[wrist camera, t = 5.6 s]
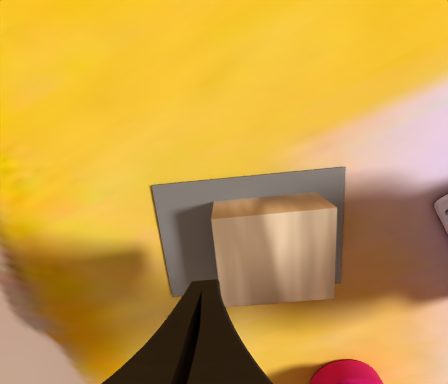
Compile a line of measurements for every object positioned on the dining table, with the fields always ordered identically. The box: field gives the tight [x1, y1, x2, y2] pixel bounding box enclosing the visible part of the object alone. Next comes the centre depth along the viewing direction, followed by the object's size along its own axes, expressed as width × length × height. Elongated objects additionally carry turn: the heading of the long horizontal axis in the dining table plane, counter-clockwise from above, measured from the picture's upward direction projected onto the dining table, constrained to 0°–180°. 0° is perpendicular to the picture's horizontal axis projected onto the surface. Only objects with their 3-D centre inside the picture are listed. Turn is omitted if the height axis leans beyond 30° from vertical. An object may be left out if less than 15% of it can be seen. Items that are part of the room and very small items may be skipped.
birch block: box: [211, 192, 337, 307], centre depth 16 cm, size 3×6×7 cm
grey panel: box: [152, 167, 346, 297], centre depth 17 cm, size 13×9×1 cm
